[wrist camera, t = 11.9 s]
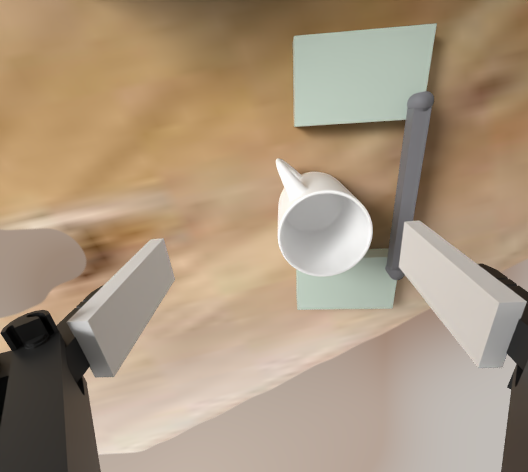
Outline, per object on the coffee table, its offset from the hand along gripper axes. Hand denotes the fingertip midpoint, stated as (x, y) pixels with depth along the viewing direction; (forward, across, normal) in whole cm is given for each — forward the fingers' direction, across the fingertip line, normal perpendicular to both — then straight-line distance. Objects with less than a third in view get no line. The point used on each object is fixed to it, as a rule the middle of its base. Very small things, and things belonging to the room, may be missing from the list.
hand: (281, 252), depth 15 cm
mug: (+20, +3, -2) cm, 21 cm away
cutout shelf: (+20, +8, -3) cm, 22 cm away
